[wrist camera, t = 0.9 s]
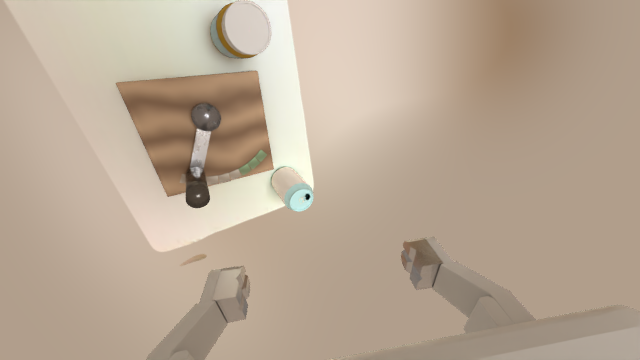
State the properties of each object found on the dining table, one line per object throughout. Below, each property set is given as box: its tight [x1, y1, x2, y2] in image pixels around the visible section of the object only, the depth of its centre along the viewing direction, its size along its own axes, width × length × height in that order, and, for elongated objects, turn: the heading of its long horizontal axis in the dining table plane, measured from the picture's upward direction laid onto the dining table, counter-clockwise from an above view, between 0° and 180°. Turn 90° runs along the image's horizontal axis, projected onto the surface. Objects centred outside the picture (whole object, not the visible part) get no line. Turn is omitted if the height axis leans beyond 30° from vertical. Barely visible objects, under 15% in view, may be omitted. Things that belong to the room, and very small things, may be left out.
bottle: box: [211, 0, 271, 58], centre depth 36 cm, size 7×7×15 cm
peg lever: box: [185, 103, 221, 208], centre depth 42 cm, size 18×5×12 cm, turn 160°
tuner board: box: [116, 71, 274, 197], centre depth 47 cm, size 22×23×1 cm
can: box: [271, 167, 313, 211], centre depth 56 cm, size 7×7×12 cm
